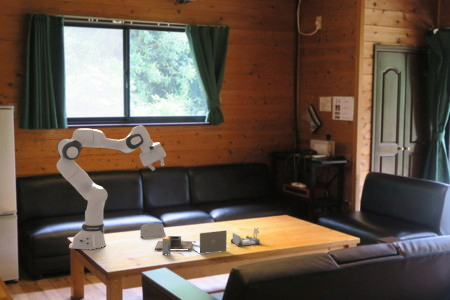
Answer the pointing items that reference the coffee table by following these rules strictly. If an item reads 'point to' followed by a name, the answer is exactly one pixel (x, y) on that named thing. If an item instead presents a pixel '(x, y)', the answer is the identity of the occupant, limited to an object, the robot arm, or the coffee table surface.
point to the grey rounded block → (152, 230)
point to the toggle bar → (166, 245)
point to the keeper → (175, 243)
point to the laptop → (213, 241)
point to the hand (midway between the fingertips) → (158, 168)
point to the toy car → (247, 241)
